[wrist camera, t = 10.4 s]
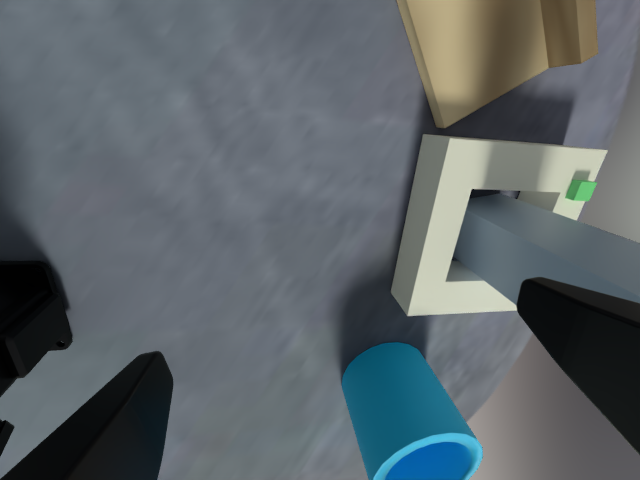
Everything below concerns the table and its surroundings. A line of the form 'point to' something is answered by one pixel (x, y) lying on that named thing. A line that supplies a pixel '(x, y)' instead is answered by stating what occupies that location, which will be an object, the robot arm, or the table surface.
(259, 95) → the table surface
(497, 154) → the block
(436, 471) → the mug
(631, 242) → the plug
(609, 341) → the robot arm
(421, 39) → the tan base plate
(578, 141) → the table surface
